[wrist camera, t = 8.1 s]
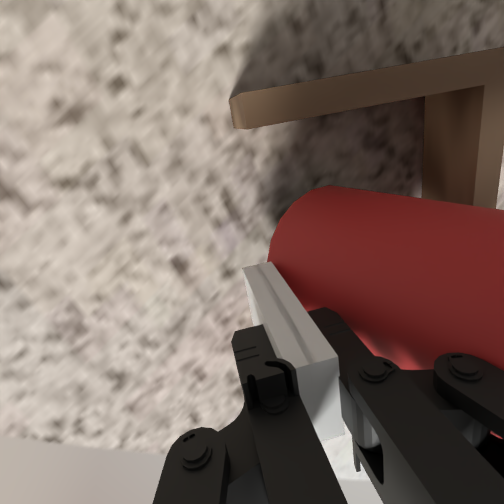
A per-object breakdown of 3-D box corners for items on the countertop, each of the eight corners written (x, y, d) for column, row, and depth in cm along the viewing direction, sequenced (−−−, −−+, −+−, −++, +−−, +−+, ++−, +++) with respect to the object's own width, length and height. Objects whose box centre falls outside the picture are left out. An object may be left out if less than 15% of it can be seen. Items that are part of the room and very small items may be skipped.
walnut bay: (228, 99, 15) (241, 92, 11) (448, 60, 16) (516, 44, 13) (274, 355, 20) (290, 399, 17) (434, 312, 21) (478, 345, 18)
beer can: (351, 164, 17) (792, 195, 7) (363, 273, 20) (684, 401, 10) (244, 215, 14) (711, 376, 4) (276, 332, 17) (598, 582, 7)
